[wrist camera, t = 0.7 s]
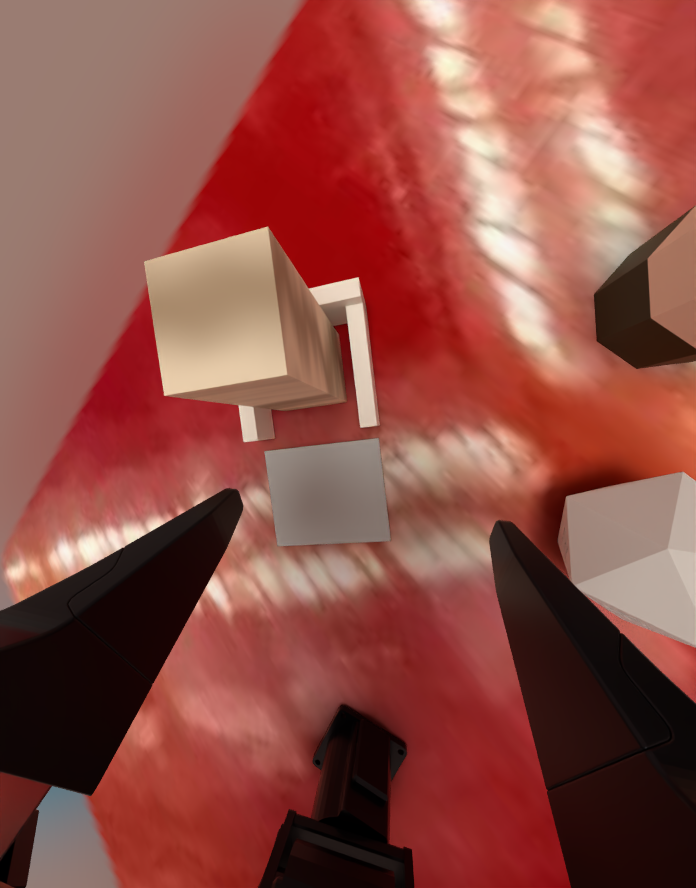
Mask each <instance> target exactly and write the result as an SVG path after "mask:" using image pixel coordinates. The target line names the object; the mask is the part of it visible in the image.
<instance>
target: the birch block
mask: <svg viewBox="0 0 696 888" xmlns="http://www.w3.org/2000/svg"><path fill="white" fill-rule="evenodd" d="M144 264H145V271H146V277H147V284H148V291H149V297H150V304H151V310H152V317H153V324H154V330H155V337H156V343H157V350H158V357H159V363H160V370H161V376H162V383H163V389H164V396H171V397H178V398H186V399H194V400H202V401H210V402H218V403H226V404H233V405H241V406H249V407H257V408H265V409H273V410H281V411H289V410H296V409H303V408H310V407H317V406H324V405H331V404H338V403H345V402H347V397H346V388H345V380H344V372H343V364H342V356H341V347H340V339H339V334H338V333H337V331H336V330H335V328H334V327H333V325H332V324H331V322H330V321H329V319H328V318H327V316H326V315H325V313H324V312H323V310H322V308H321V307H320V305H319V304H318V302H317V301H316V299H315V298H314V296H313V295H312V293H311V292H310V290H309V289H308V287H307V286H306V284H305V283H304V281H303V280H302V278H301V276H300V275H299V273H298V272H297V270H296V269H295V267H294V266H293V264H292V263H291V261H290V260H289V258H288V257H287V255H286V254H285V252H284V251H283V249H282V248H281V246H280V244H279V243H278V241H277V240H276V238H275V237H274V235H273V234H272V232H271V231H270V229H269V228H268V227H265V228H262V229H258V230H254V231H251V232H247V233H244V234H240V235H237V236H233V237H230V238H226V239H222V240H219V241H215V242H212V243H208V244H205V245H201V246H197V247H194V248H190V249H187V250H183V251H180V252H176V253H173V254H169V255H165V256H162V257H158V258H155V259H151V260H148V261H144Z"/></svg>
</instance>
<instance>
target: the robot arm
mask: <svg viewBox="0 0 696 888" xmlns="http://www.w3.org/2000/svg"><path fill="white" fill-rule="evenodd" d="M242 511H243V503H242V500H241V497H240V494H239V491H238V490H237V489H230V488H227V489H224V490H222V491H221V492H219V493H217V494H215V495H214V496H212V497H210V498H208V499H207V500H205V501H203V502H202V503H200V504H198V505H196V506H195V507H193V508H191V509H189V510H188V511H186V512H184V513H182V514H181V515H179V516H177V517H175V518H174V519H172V520H170V521H168V522H167V523H165V524H163V525H161V526H160V527H158V528H156V529H154V530H153V531H151V532H149V533H147V534H146V535H144V536H142V537H141V538H139V539H137V540H135V541H134V542H132V543H130V544H128V545H127V546H125V548H121V549H120V550H118V551H116V552H114V553H113V554H111V555H109V556H107V557H105V558H104V559H102V560H100V561H98V562H96V563H95V564H93V565H91V566H89V567H87V568H85V569H83V570H82V571H80V572H78V573H76V574H74V575H72V576H70V577H68V578H66V579H64V580H62V581H60V582H58V583H56V584H54V585H52V586H50V587H48V588H46V589H44V590H43V591H41V592H39V593H37V594H35V595H33V596H31V597H29V598H27V599H25V600H23V601H21V602H19V603H17V604H15V605H13V606H11V607H9V608H6V609H4V610H1V611H0V888H25V887H26V885H27V879H28V873H29V867H30V861H31V854H32V849H33V843H34V837H35V831H36V825H37V820H38V814H39V810H36V808H37V807H38V806H39V804H40V803H41V801H42V800H43V798H44V797H45V796H46V794H47V793H48V791H49V790H50V788H51V787H52V786H54V787H58V788H62V789H66V790H70V791H73V792H77V793H81V794H85V795H88V796H91V795H92V794H93V793H94V791H95V789H96V788H97V786H98V784H99V783H100V781H101V779H102V777H103V775H104V773H105V772H106V770H107V768H108V766H109V764H110V762H111V761H112V759H113V757H114V755H115V753H116V751H117V750H118V748H119V746H120V744H121V742H122V740H123V739H124V737H125V735H126V733H127V731H128V729H129V728H130V726H131V724H132V722H133V720H134V718H135V717H136V715H137V713H138V711H139V709H140V707H141V706H142V704H143V702H144V700H145V698H146V696H147V694H148V693H149V691H150V689H151V687H152V684H153V683H154V681H155V679H156V678H157V676H158V674H159V672H160V670H161V668H162V667H163V665H164V663H165V661H166V659H167V657H168V656H169V654H170V652H171V650H172V648H173V646H174V645H175V643H176V641H177V639H178V637H179V635H180V633H181V632H182V630H183V628H184V626H185V624H186V622H187V621H188V619H189V617H190V615H191V613H192V611H193V610H194V608H195V606H196V604H197V602H198V600H199V599H200V597H201V595H202V593H203V591H204V589H205V588H206V586H207V584H208V582H209V580H210V578H211V577H212V575H213V573H214V571H215V569H216V567H217V565H218V564H219V562H220V560H221V558H222V556H223V554H224V553H225V551H226V549H227V547H228V544H229V542H230V540H231V537H232V535H233V533H234V530H235V528H236V526H237V523H238V521H239V518H240V516H241V514H242ZM489 543H490V551H491V558H492V566H493V573H494V580H495V587H496V593H497V597H498V601H499V605H500V609H501V613H502V617H503V621H504V625H505V629H506V633H507V636H508V640H509V644H510V648H511V652H512V656H513V660H514V664H515V668H516V672H517V676H518V680H519V684H520V687H521V691H522V695H523V699H524V703H525V707H526V711H527V715H528V719H529V723H530V727H531V731H532V735H533V738H534V742H535V746H536V750H537V754H538V758H539V762H540V766H541V770H542V774H543V778H544V782H545V786H546V789H547V790H548V791H547V794H548V798H549V802H550V806H551V810H552V814H553V818H554V822H555V826H556V830H557V834H558V837H559V841H560V845H561V849H562V853H563V857H564V861H565V865H566V869H567V873H568V877H569V881H570V885H571V888H696V703H695V702H694V701H693V700H691V699H690V698H689V697H688V696H687V695H686V694H685V693H684V692H683V691H682V690H681V689H680V688H678V687H677V686H676V685H675V684H674V683H673V682H672V681H671V680H670V679H669V678H668V677H667V676H666V675H664V674H663V673H662V672H661V671H660V670H659V669H658V668H657V667H656V666H655V665H654V664H653V663H652V662H651V661H650V660H649V659H648V658H647V657H646V656H645V655H644V654H643V653H642V652H641V651H640V650H639V649H638V648H637V647H636V646H635V645H634V644H633V643H632V642H631V641H630V640H629V639H628V638H627V637H626V636H625V635H624V634H622V633H620V630H619V629H618V628H617V627H616V626H615V625H614V624H613V623H612V622H611V621H610V620H609V619H608V618H607V617H606V616H605V615H604V614H603V613H602V612H601V611H600V610H599V609H598V608H597V607H596V606H595V605H594V604H593V603H592V602H591V601H590V600H589V599H588V598H587V597H586V596H585V595H584V594H583V593H582V592H581V591H580V590H579V589H578V588H577V587H576V586H575V585H574V584H573V583H572V582H571V581H570V580H569V579H568V578H567V577H566V576H565V575H564V574H563V573H562V572H561V571H560V570H559V569H558V568H557V567H556V566H555V565H554V564H553V563H552V562H551V561H550V560H549V559H548V558H547V557H546V556H545V555H544V554H543V553H542V552H541V551H540V550H539V549H538V548H537V547H536V546H535V545H534V544H533V543H532V542H531V541H530V540H529V539H528V538H527V537H526V536H525V535H524V534H523V533H522V532H521V531H520V530H519V529H518V528H517V527H516V526H515V525H514V524H513V523H512V522H510V521H503V520H497V521H496V523H495V525H494V527H493V530H492V533H491V535H490V540H489ZM406 755H407V747H406V744H405V743H404V742H402V741H400V740H399V739H397V738H396V737H394V736H392V735H391V734H389V733H388V732H386V731H384V730H383V729H381V728H380V727H378V726H376V725H375V724H373V723H372V722H370V721H368V720H367V719H365V718H364V717H362V716H360V715H359V714H357V713H356V712H354V711H353V710H351V709H349V708H348V707H346V706H340V707H339V709H338V710H337V712H336V714H335V716H334V718H333V720H332V722H331V724H330V725H329V727H328V729H327V731H326V733H325V735H324V737H323V739H322V740H321V742H320V744H319V746H318V748H317V750H316V752H315V754H314V757H313V764H314V765H315V766H316V767H317V768H319V769H320V770H321V774H320V779H319V783H318V788H317V792H316V797H315V801H314V806H313V810H312V815H311V818H308V817H305V816H302V815H299V814H296V811H294V810H291V809H289V811H288V814H287V817H286V819H285V822H284V824H282V825H281V828H280V829H279V831H278V834H277V838H276V841H275V844H274V847H273V850H272V853H271V856H270V858H269V861H268V864H267V867H266V869H265V872H264V875H263V877H262V879H261V881H260V884H259V886H258V888H414V875H413V859H412V849H409V848H406V847H404V848H403V849H402V848H399V847H396V846H393V845H390V844H389V836H390V789H391V781H392V779H393V777H394V775H395V774H396V772H397V770H398V769H399V767H400V765H401V764H402V762H403V760H404V759H405V757H406Z"/></svg>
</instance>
